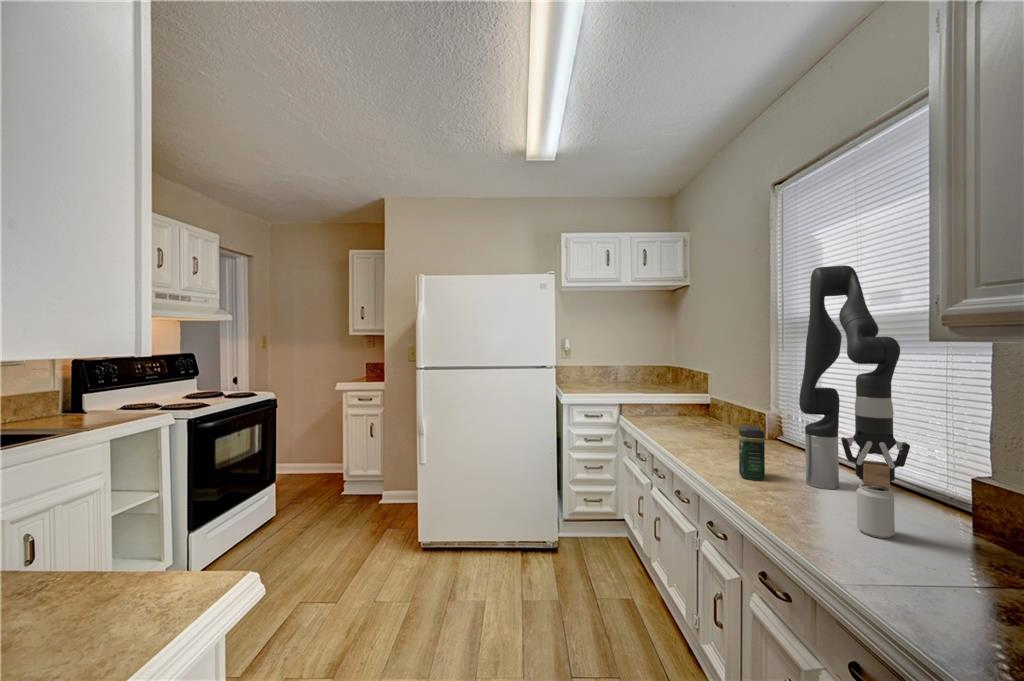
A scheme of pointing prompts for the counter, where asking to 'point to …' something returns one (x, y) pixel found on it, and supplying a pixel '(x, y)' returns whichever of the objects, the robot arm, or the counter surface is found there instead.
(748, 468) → the coffee jar
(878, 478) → the block
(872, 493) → the can
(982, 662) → the counter surface
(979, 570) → the counter surface
